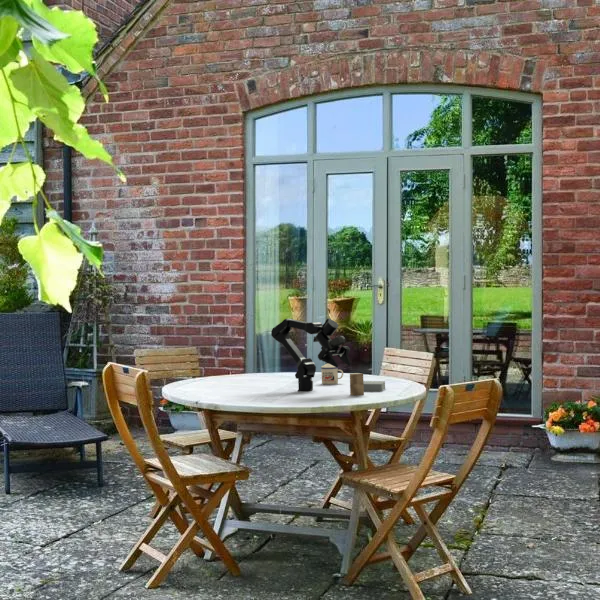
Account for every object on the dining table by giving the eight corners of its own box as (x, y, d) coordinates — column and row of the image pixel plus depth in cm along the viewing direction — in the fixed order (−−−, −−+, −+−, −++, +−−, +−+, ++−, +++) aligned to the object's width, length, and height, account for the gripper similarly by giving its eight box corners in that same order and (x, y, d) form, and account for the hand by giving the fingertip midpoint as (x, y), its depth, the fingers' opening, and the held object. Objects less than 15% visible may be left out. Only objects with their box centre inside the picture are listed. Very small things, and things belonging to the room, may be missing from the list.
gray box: (357, 392, 411) (357, 384, 411) (361, 389, 423) (361, 381, 423) (381, 392, 409) (381, 384, 408) (385, 389, 420) (384, 381, 420)
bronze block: (350, 395, 398) (349, 373, 398) (356, 393, 401) (355, 373, 401) (357, 395, 395) (357, 374, 395) (363, 394, 398) (363, 373, 398)
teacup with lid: (319, 384, 446) (318, 362, 446) (324, 382, 455) (323, 360, 455) (341, 384, 443) (340, 362, 442) (345, 382, 451) (345, 360, 451)
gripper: (321, 331, 400) (339, 355, 393) (347, 329, 414) (365, 352, 406) (309, 348, 406) (327, 372, 398) (335, 345, 419) (353, 368, 412)
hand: (343, 365), depth 403 cm, fingers open, 9 cm apart
